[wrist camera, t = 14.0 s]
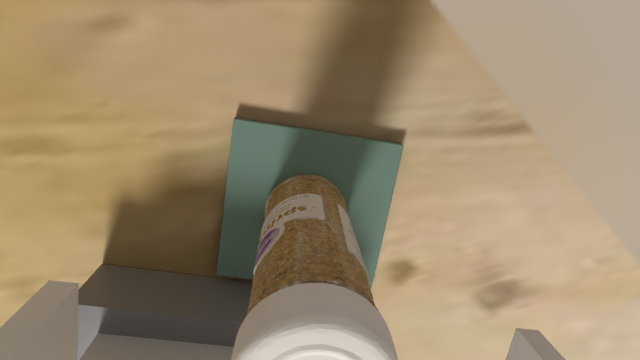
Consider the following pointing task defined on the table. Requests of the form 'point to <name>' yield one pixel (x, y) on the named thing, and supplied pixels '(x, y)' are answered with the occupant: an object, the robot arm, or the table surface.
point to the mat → (302, 159)
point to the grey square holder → (159, 315)
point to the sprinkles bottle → (310, 283)
